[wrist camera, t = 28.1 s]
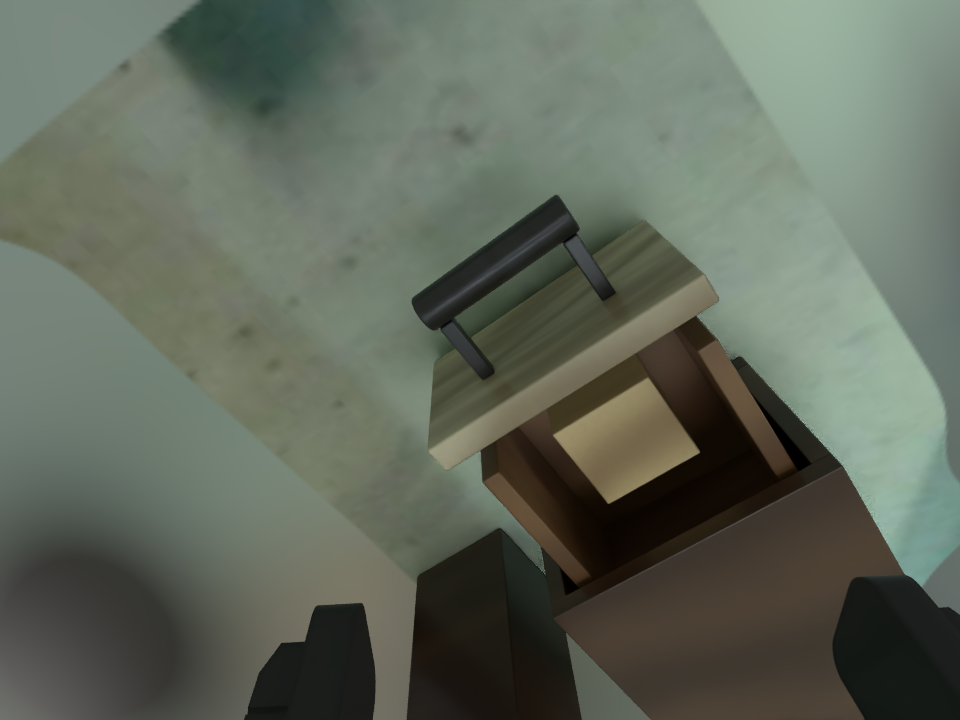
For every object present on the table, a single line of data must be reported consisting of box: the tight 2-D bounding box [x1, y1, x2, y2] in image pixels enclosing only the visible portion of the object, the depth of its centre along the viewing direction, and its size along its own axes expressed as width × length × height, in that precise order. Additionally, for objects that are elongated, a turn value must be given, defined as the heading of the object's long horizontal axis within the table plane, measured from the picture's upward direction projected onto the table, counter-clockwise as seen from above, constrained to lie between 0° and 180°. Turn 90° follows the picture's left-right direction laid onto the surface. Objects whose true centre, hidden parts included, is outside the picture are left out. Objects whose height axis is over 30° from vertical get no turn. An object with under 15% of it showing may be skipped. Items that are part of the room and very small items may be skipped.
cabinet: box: [541, 357, 905, 720], centre depth 31 cm, size 15×13×9 cm
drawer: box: [412, 195, 798, 588], centre depth 27 cm, size 18×11×7 cm, turn 36°
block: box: [547, 353, 700, 504], centre depth 27 cm, size 4×4×4 cm
